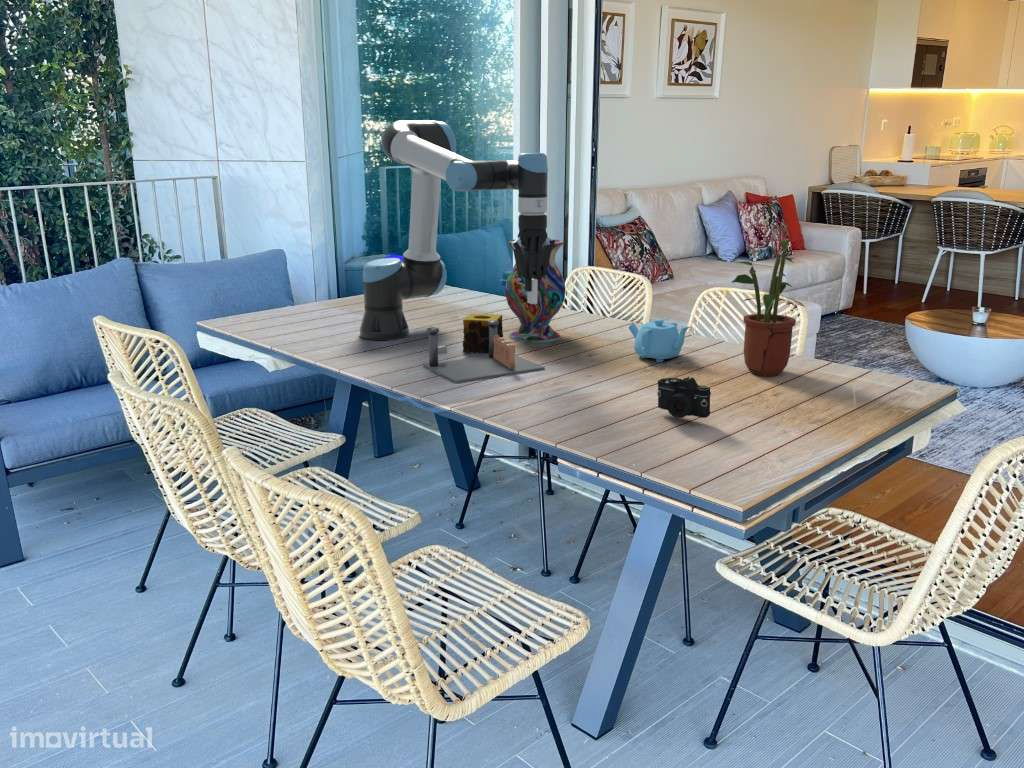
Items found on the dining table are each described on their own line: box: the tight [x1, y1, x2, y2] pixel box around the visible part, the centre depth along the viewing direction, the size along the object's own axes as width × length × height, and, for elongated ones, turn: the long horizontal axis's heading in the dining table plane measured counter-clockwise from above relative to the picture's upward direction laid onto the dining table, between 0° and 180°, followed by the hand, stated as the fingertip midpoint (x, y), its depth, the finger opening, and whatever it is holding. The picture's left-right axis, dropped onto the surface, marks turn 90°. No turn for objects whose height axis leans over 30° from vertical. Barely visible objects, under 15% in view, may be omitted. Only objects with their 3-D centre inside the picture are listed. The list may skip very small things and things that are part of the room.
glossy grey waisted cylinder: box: [487, 320, 499, 358], centre depth 242 cm, size 3×3×11 cm
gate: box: [493, 335, 516, 369], centre depth 234 cm, size 13×2×6 cm, turn 21°
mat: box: [422, 354, 546, 384], centre depth 234 cm, size 19×27×1 cm
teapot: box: [627, 318, 691, 363], centre depth 243 cm, size 15×14×11 cm
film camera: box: [656, 375, 712, 419], centre depth 193 cm, size 13×8×10 cm, turn 54°
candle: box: [462, 313, 504, 355], centre depth 253 cm, size 10×10×10 cm
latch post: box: [426, 326, 448, 367], centre depth 234 cm, size 5×6×11 cm
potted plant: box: [730, 240, 797, 377], centre depth 224 cm, size 17×16×35 cm
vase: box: [504, 238, 566, 344], centre depth 264 cm, size 18×18×30 cm
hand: (532, 303), depth 233 cm, fingers closed
